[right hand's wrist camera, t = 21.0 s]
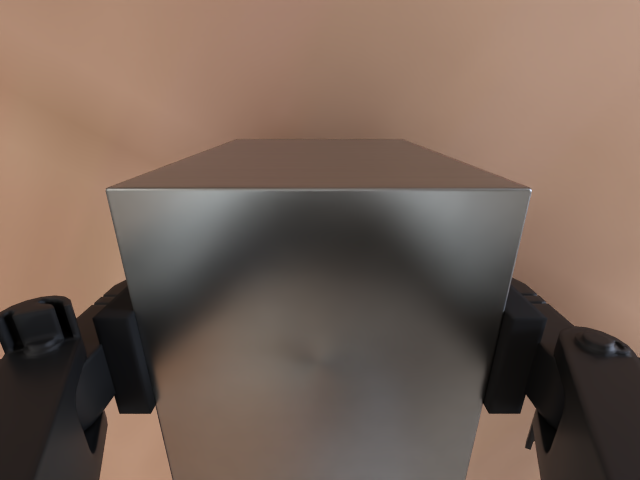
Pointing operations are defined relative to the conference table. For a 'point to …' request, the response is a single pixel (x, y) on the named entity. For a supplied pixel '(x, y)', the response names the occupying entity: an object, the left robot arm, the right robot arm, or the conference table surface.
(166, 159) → the conference table surface
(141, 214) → the block
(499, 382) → the right robot arm
